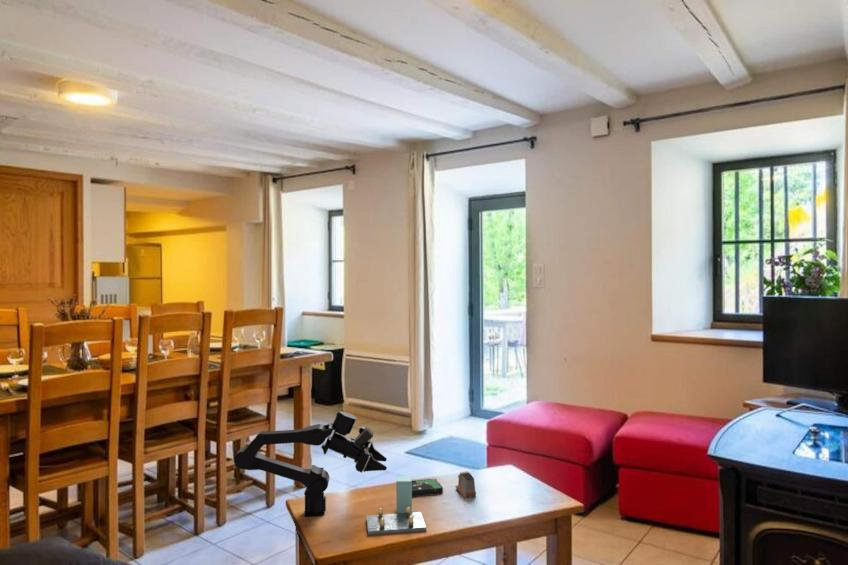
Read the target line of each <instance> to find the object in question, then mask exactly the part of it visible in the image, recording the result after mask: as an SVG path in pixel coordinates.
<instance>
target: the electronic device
mask: <svg viewBox="0 0 848 565" xmlns="http://www.w3.org/2000/svg"><path fill="white" fill-rule="evenodd" d="M457 477H458V484H457V485H455V489H456V491H458V492H459V493H460V495H462V496H463V497H464V498H465V499H468V498H474V497H476V495H477V492H476V485H475V478H474V476H473V475H472V474H471V473H470V472H469V471H462V472H460V473H459V474H457Z"/></svg>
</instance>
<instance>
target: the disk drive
mask: <svg viewBox="0 0 848 565" xmlns="http://www.w3.org/2000/svg"><path fill="white" fill-rule="evenodd" d="M442 493H443V494H444V487H443V486H442V484H441V483H440V482H439V481H438V480H437V479H436V478H435V479H434V478H433V479H431V478H429V479H428V478H426V479H419V480H418V479H417V480H412V498H413V497H422V496H423V495H424V496H432V495H431V494H434V495H442Z"/></svg>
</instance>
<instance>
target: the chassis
mask: <svg viewBox="0 0 848 565" xmlns="http://www.w3.org/2000/svg"><path fill="white" fill-rule="evenodd" d="M377 510H378V513H377V514H372V515H370V514H369V515H366V517H365V518H366V527H367V535H368V536H378V535H390V534H391V535H393V534H394V535H395V534H405V533H408V534H409V533H421V532H427V526H426V523H425V520H424V517H423V513H422V512H421V511H417V512H416V511H415V512H413V511H412V513H410V506H406V513H398V514H397V513H385V514H384V513H383V512H384V509H383V507H378V509H377Z"/></svg>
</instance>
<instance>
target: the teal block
mask: <svg viewBox="0 0 848 565" xmlns="http://www.w3.org/2000/svg"><path fill="white" fill-rule="evenodd" d="M412 481H413V479H412V476H411V475H404V476H403V475H402V476H401V475H400V476H399V475H397V476H396V482H395V483H396V488H395V490H396V514H398V513H406V506H410V513H413V511H412V510H413V497H412Z"/></svg>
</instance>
